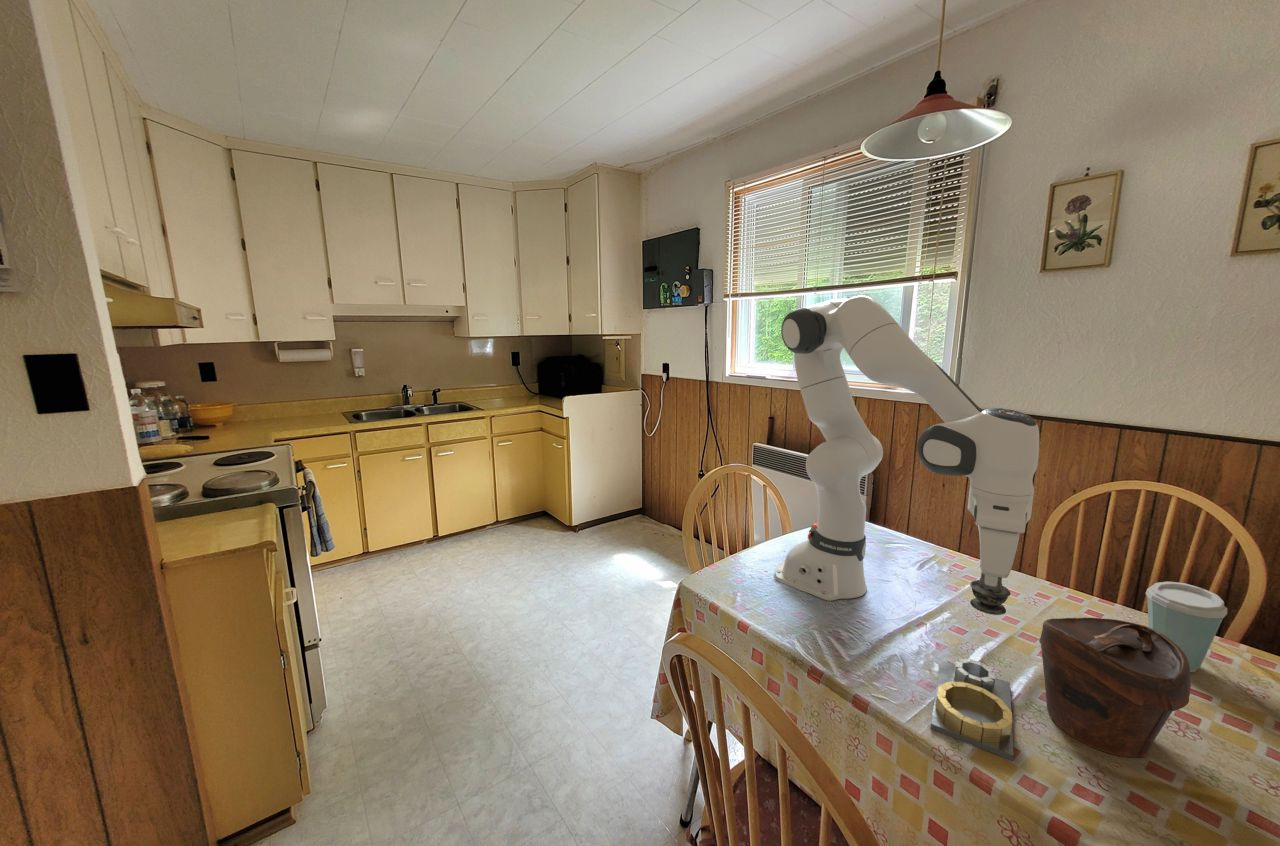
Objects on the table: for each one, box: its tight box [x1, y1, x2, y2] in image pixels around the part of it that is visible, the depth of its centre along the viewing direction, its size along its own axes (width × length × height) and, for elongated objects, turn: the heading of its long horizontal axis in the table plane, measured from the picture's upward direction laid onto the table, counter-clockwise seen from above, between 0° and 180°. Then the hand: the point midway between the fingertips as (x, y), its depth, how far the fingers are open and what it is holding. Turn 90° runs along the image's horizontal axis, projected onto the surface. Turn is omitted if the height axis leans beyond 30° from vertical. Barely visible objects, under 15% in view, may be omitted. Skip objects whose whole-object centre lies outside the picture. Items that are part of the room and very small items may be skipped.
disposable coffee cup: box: [1145, 581, 1228, 673], centre depth 96 cm, size 11×11×15 cm
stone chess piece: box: [969, 565, 1011, 616], centre depth 87 cm, size 6×6×12 cm
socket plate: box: [930, 658, 1015, 762], centre depth 87 cm, size 11×19×4 cm, turn 145°
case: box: [1038, 617, 1192, 758], centre depth 81 cm, size 18×20×18 cm
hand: (990, 578), depth 88 cm, fingers closed on stone chess piece, 3 cm apart
